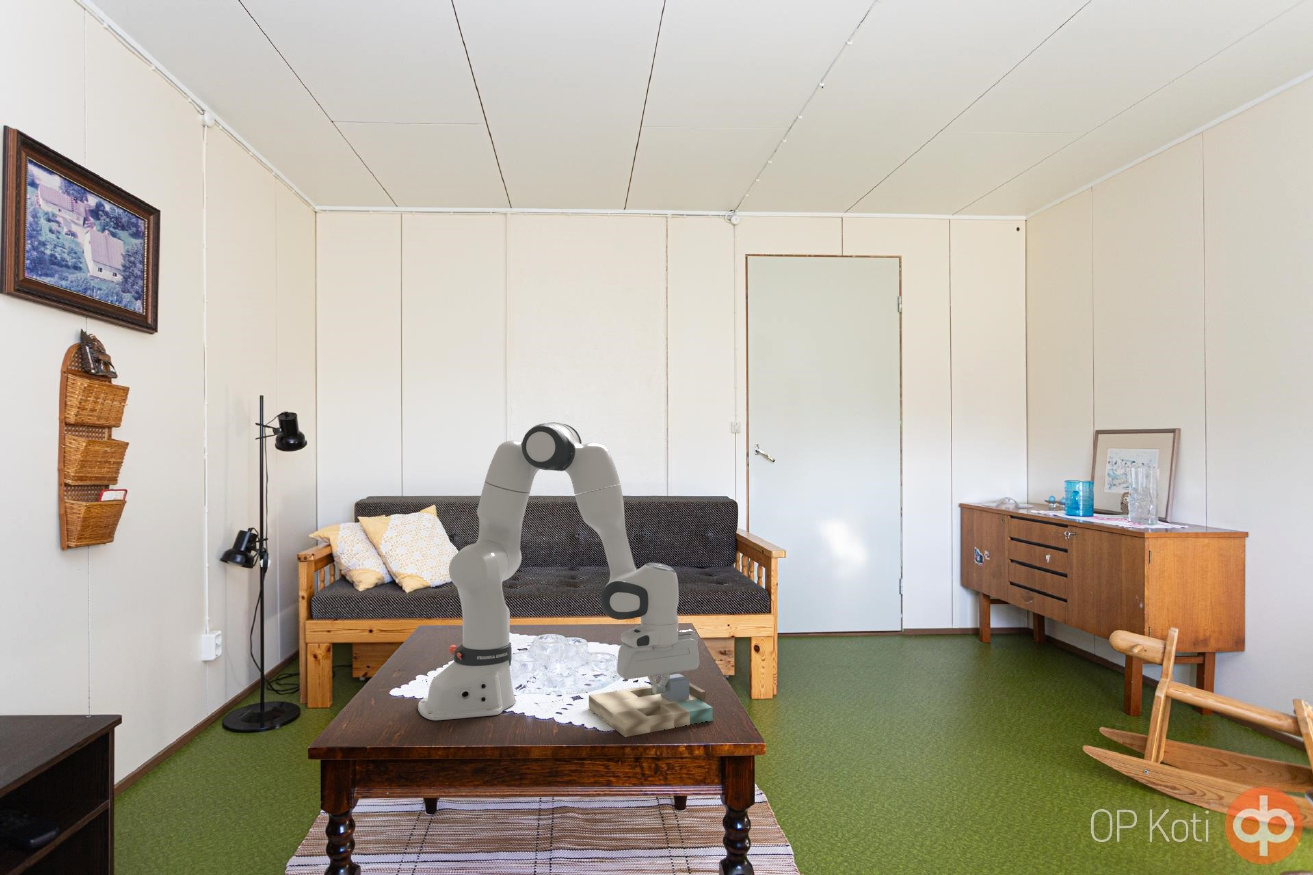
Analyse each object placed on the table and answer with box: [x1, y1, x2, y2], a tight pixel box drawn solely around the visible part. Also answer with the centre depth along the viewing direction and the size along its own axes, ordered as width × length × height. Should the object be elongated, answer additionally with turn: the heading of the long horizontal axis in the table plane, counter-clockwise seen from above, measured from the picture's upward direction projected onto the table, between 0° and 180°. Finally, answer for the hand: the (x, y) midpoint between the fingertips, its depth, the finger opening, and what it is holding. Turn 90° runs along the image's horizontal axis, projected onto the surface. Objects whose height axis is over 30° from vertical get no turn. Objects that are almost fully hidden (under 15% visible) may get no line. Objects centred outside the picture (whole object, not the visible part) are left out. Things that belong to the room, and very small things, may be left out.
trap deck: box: [588, 682, 714, 738], centre depth 176 cm, size 23×20×5 cm
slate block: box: [660, 673, 691, 702], centre depth 179 cm, size 5×5×4 cm
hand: (658, 692), depth 176 cm, fingers closed
